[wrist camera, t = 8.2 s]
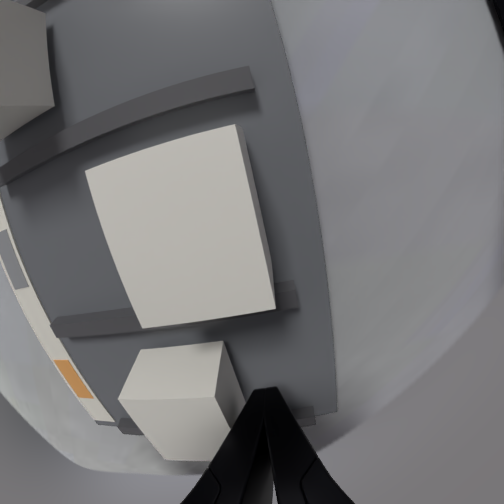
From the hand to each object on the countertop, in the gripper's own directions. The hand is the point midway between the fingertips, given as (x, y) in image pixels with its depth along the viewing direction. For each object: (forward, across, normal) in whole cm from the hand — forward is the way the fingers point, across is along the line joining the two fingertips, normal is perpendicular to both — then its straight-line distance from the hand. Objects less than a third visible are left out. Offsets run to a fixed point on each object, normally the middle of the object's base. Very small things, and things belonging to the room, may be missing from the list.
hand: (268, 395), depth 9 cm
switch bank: (+3, +4, -9) cm, 10 cm away
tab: (+1, +6, -12) cm, 13 cm away
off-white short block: (+1, +3, 0) cm, 3 cm away
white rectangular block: (+1, +1, -6) cm, 6 cm away
